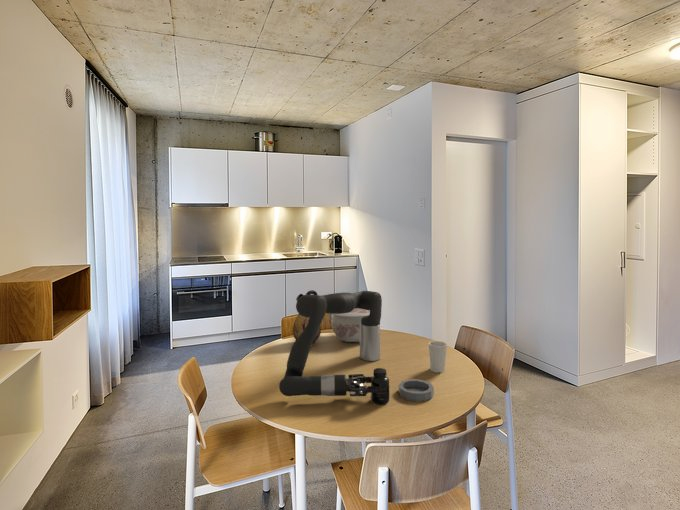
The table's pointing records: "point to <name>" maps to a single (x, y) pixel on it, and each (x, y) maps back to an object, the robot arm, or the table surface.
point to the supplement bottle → (380, 387)
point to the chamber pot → (348, 324)
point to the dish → (416, 390)
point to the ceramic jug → (303, 322)
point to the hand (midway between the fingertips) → (376, 384)
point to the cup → (437, 356)
